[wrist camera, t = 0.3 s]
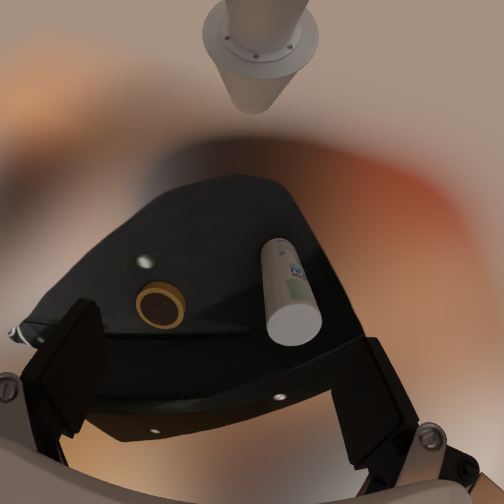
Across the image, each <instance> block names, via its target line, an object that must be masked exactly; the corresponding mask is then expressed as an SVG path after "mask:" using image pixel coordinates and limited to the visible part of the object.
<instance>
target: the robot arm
mask: <svg viewBox="0 0 504 504" xmlns="http://www.w3.org/2000/svg"><path fill="white" fill-rule="evenodd" d="M308 1H309V0H225V2H226V8H227V13H226V14H225V16H224V17H223V19H222V22H221V27H220V32H221V37H222V40H223V42H224V44H225V46H226V47H227V48H228V49H229V51H230V52H232V53H233V54H234V55H236V56H238V57H239V58H241V59H244V60H247V61H250V62H256V63H268V62H274V61H278V60H281V59H283V58H285V57H287V56H288V55H290V54H291V53H292V52H293V51H294V50H295V49H296V48H297V46H298V44H299V42H300V40H301V36H302V27H301V24H300V21H299V19H300V17H301V15H302V13H303V11H304V9H305V7H306V5H307V3H308ZM227 39H229V41H226V40H227ZM288 48H291V49H288ZM254 57H257V59H255V58H254ZM109 364H110V356H109V352H108V348H107V343H106V339H105V334H104V329H103V324H102V319H101V313H100V308H99V307H98V306H96V303H95V302H94V301H92V300H88V299H84V298H79V299H78V300H77V301H76V303H75V304H74V305H73V306H72V307H71V308H70V310H69V311H68V312H67V313H66V314H65V316H64V317H63V318H62V319H61V321H60V322H59V323H58V324H57V326H56V327H55V328H54V329H53V331H52V332H51V333H50V334H49V336H48V337H47V338H46V340H45V341H44V342H43V344H42V345H41V346H40V348H39V349H38V350H37V352H36V353H35V355H34V356H33V357H32V359H31V360H30V361H29V363H28V364H27V366H26V367H25V368H24V370H23V371H22V375H21V376H20V378H19V377H18V376H17V375H15V374H14V373H10V372H4V373H1V374H0V504H196V503H189V502H183V501H176V500H171V499H166V498H161V497H157V496H153V495H148V494H144V493H140V492H137V491H133V490H129V489H126V488H123V487H120V486H117V485H114V484H111V483H108V482H105V481H102V480H99V479H97V478H94V477H92V476H89V475H86V474H84V473H81V472H79V471H77V470H74V469H72V468H69V466H68V463H67V461H66V458H65V456H64V453H63V450H62V448H61V445H60V442H59V439H60V436H61V434H63V435H65V436H67V437H69V438H72V439H73V437H74V434H75V433H76V434H77V433H79V431H80V429H81V427H82V425H83V422H84V420H85V417H86V415H87V413H88V411H89V408H90V406H91V404H92V401H93V399H94V397H95V395H96V393H97V390H98V388H99V386H100V384H101V382H102V380H103V378H104V376H105V374H106V371H107V369H108V367H109ZM331 394H332V398H333V402H334V406H335V409H336V413H337V416H338V420H339V424H340V428H341V431H342V435H343V439H344V443H345V447H346V450H347V454H348V459H349V462H350V464H352V465H354V469H355V470H360V469H365V468H368V471H369V474H368V476H367V478H366V480H365V482H364V483H363V485H362V487H361V489H360V490H359V492H358V494H357V495H356V497H354V498H349V499H344V500H339V501H333V502H327V503H320V504H504V491H503V490H502V489H501V488H500V487H499V486H497V485H496V484H495V483H494V482H493V481H492V480H490V479H489V478H488V477H487V476H486V475H485V474H484V473H483V472H481V473H480V474H479V472H480V469H479V465H478V462H477V461H476V460H475V458H473V457H472V456H470V455H468V454H466V453H463V452H461V451H459V450H457V449H455V448H453V447H450V446H448V445H447V438H446V434H445V432H444V431H443V429H442V428H441V427H440V426H438V425H437V424H435V423H431V422H426V423H423V424H421V425H420V426H419V425H418V421H419V418H418V416H417V414H416V412H415V409H414V408H413V405H412V403H411V401H410V399H409V397H408V395H407V393H406V391H405V389H404V387H403V385H402V383H401V381H400V379H399V377H398V375H397V373H396V372H395V370H394V368H393V366H392V364H391V363H390V360H389V358H388V357H387V355H386V353H385V351H384V349H383V347H382V346H381V344H380V342H379V340H378V339H377V338H375V337H362V338H361V339H360V340H359V341H357V342H356V343H355V344H354V346H353V348H352V350H351V352H350V354H349V356H348V358H347V360H346V362H345V364H344V366H343V368H342V370H341V372H340V373H339V375H338V377H337V379H336V381H335V382H334V384H333V386H332V389H331Z"/></svg>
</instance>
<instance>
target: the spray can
mask: <svg viewBox="0 0 504 504" xmlns="http://www.w3.org/2000/svg"><path fill="white" fill-rule="evenodd" d="M261 265H262V276H263V288H264V300H265V312H266V324H267V331H268V334H269V336H270V337H271V338H272V339H273V340H274V341H275V342H277V343H279V344H282V345H287V346H295V345H300V344H304V343H306V342H308V341H310V340H311V339H312V338H313V337H315V336H316V334H317V333H318V332H319V330H320V328H321V323H322V319H321V314H320V312H319V309H318V306H317V304H316V301H315V298H314V296H313V293H312V291H311V288H310V286H309V283H308V280H307V278H306V275H305V273H304V270H303V268H302V265H301V263H300V260H299V258H298V255H297V253H296V251H295V248H294V246H293V245H292V244H291V243H290V242H289V241H287V240H285V239H282V238H275V239H272V240H270V241H268V242H267V243H266V244H265V245H264V246H263V248H262V251H261Z"/></svg>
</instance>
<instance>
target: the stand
mask: <svg viewBox="0 0 504 504" xmlns="http://www.w3.org/2000/svg"><path fill="white" fill-rule="evenodd" d="M136 307H137V311H138V313H139V315H140V316H141V317H142V318H143V320H145V321H146V322H147V323H148V324H150V325H152V326H154V327H157V328H161V329H169V328H173V327H175V326H177V325H178V324H180V323H181V321H182V319H183V316H184V313H185V310H186V302H185V299H184V297H183V295H182V294H181V292H180V291H179V290H178V289H177V288H175V287H174V286H172V285H170V284H168V283H165V282H151V283H149V284H147V285H145V286H144V287H143V289H142V290H141V292H140V293H139V295H138V297H137V300H136Z"/></svg>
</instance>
